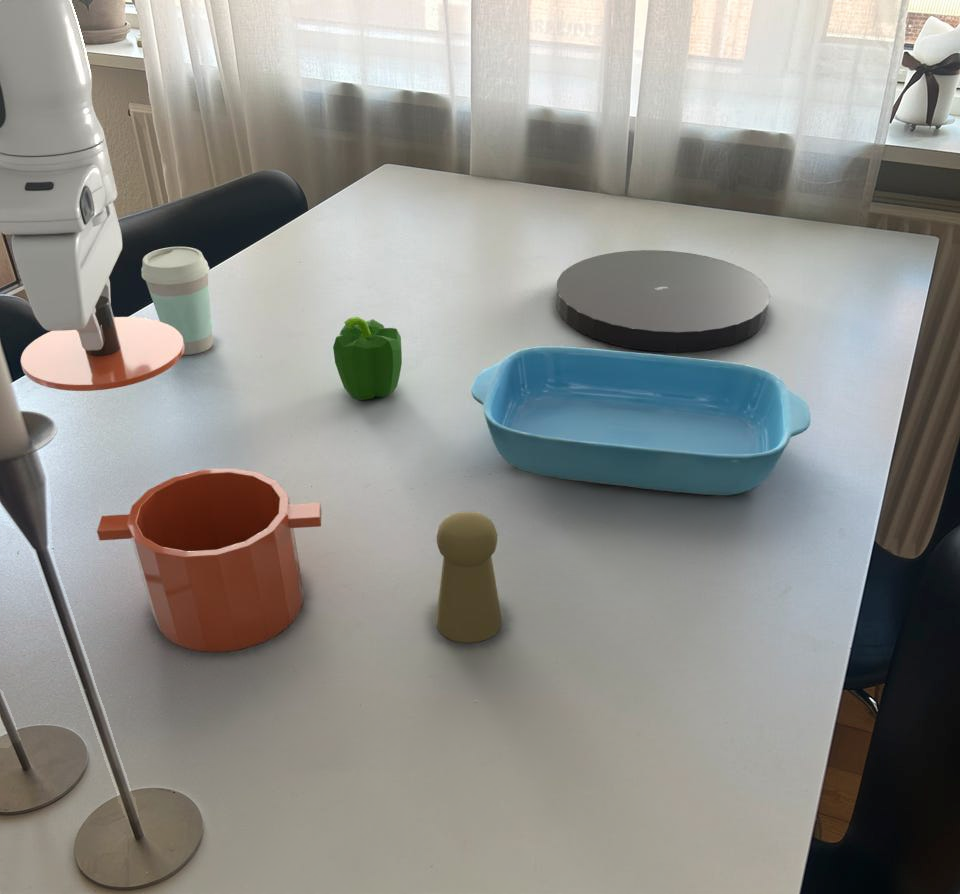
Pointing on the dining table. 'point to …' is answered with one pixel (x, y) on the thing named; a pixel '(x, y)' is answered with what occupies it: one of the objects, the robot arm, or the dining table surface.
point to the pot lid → (103, 354)
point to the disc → (662, 300)
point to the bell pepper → (368, 358)
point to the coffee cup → (181, 294)
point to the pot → (217, 556)
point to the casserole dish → (639, 418)
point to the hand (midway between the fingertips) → (99, 336)
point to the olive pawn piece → (467, 578)
